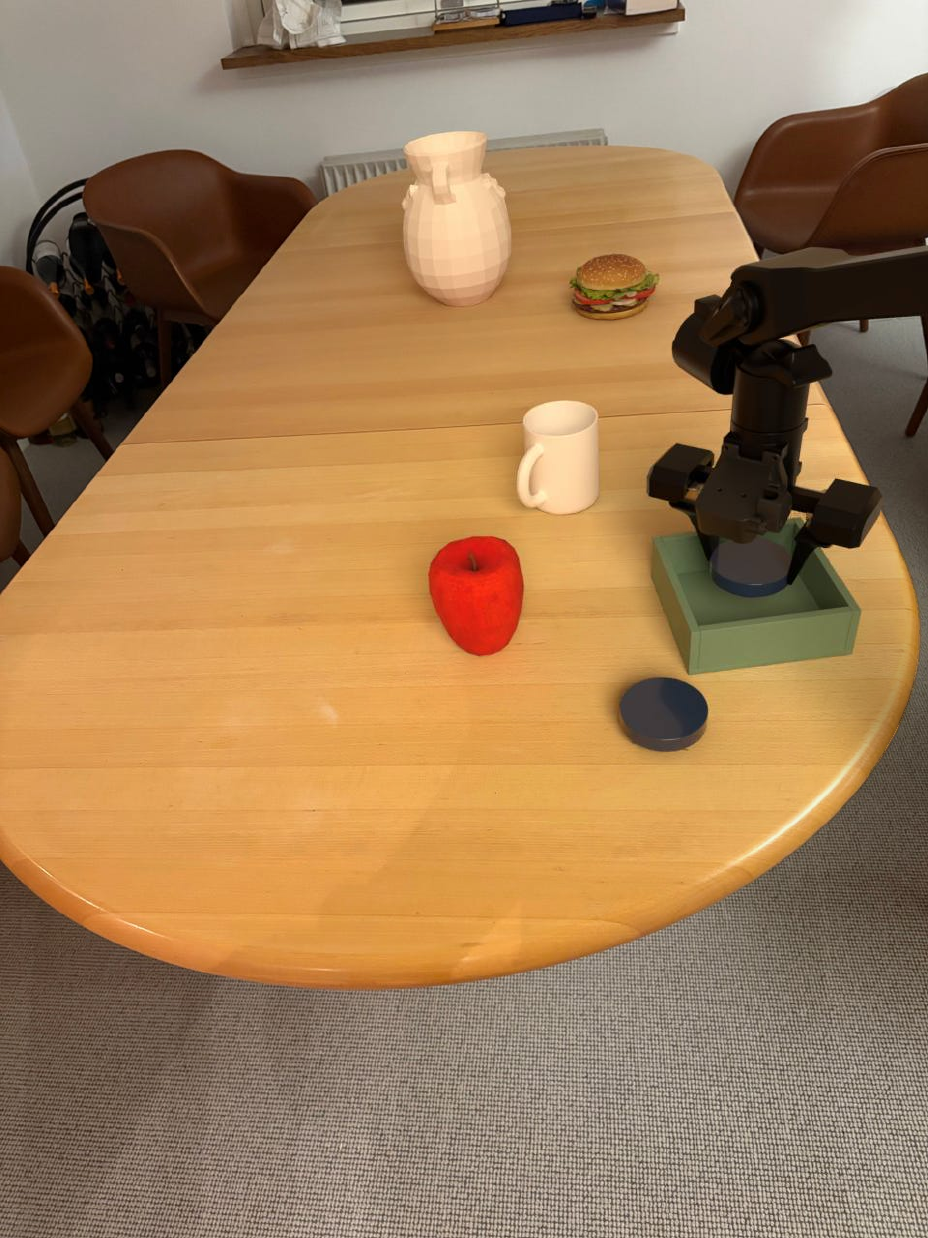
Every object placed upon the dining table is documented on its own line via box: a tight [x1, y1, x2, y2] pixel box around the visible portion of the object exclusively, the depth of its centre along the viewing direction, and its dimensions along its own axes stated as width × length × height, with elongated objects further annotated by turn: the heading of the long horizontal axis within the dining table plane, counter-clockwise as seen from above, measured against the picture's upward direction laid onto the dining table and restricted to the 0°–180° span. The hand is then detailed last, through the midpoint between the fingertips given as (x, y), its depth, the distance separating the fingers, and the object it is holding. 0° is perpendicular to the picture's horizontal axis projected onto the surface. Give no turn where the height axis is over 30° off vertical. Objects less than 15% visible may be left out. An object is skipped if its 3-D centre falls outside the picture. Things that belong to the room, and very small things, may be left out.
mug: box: [516, 399, 601, 516], centre depth 99 cm, size 12×8×10 cm
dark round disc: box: [710, 538, 792, 598], centre depth 81 cm, size 7×7×2 cm
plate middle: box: [618, 676, 709, 753], centre depth 74 cm, size 7×7×2 cm
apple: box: [427, 535, 525, 657], centre depth 82 cm, size 9×9×11 cm
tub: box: [651, 516, 862, 676], centre depth 82 cm, size 15×15×5 cm
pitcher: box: [401, 131, 513, 307], centre depth 148 cm, size 19×18×25 cm
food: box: [569, 253, 660, 321], centre depth 142 cm, size 14×14×8 cm
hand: (750, 570), depth 81 cm, fingers closed on dark round disc, 7 cm apart
